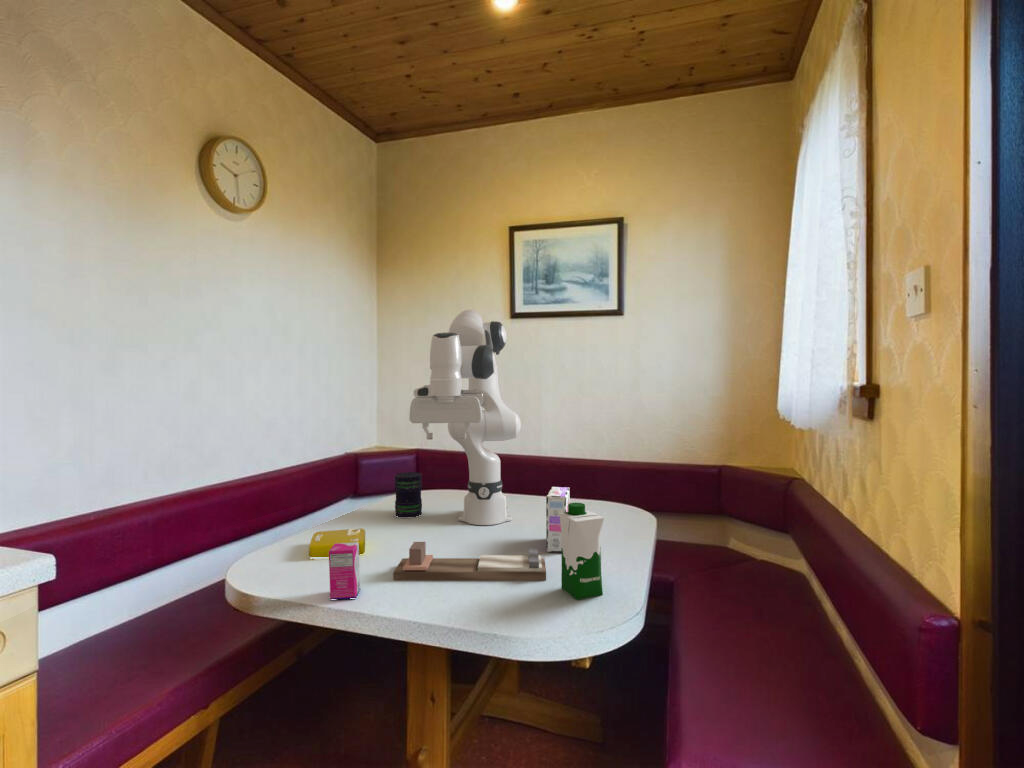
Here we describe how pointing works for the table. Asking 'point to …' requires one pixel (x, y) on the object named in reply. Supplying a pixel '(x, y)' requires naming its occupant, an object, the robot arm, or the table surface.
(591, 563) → the milk carton
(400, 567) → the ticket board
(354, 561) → the supplement box
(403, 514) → the storage jar
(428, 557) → the pink plate with handle
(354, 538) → the element tile
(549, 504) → the candy box
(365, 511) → the table surface
